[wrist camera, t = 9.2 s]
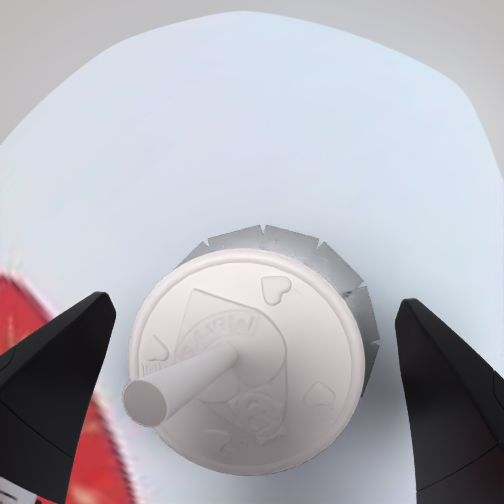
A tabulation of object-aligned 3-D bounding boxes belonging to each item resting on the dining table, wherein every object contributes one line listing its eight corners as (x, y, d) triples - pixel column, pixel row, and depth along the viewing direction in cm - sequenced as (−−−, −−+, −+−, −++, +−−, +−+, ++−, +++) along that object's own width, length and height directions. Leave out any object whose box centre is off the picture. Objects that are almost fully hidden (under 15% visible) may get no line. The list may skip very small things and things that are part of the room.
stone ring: (389, 334, 15) (417, 339, 11) (261, 449, 14) (254, 482, 11) (268, 213, 18) (263, 185, 14) (148, 328, 17) (114, 330, 13)
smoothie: (288, 265, 17) (289, 76, 3) (341, 360, 15) (500, 483, 2) (193, 316, 17) (-31, 298, 3) (243, 409, 15) (135, 592, 2)
